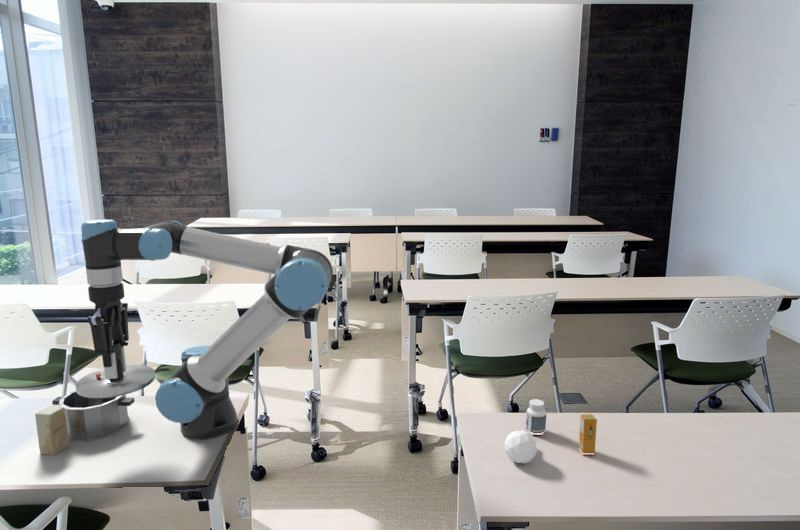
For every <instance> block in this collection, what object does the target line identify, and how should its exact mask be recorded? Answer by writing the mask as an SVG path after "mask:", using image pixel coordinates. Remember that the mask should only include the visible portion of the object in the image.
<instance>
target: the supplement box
mask: <svg viewBox="0 0 800 530" xmlns="http://www.w3.org/2000/svg"><path fill="white" fill-rule="evenodd" d="M579 421H580V422H579V436H578V437H579V439H578V442H579V443H578V448H579V447H580V449H581V451H582V452H583V453H595V454H596V440H597V439H596V438H597V423H598V420H597V418H596V417H595V416H594V415H593V414H591V413H590V414H589V413H588V414H586V413H585V414H583V413H582V414H580V420H579Z"/></svg>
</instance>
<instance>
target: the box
mask: <svg viewBox="0 0 800 530" xmlns="http://www.w3.org/2000/svg"><path fill="white" fill-rule="evenodd" d="M34 415H35V425H36V431H37V439H38V447H39V453H40V454H42V455H44V454H45V455H50V456H51V455H52V456H53V455H56V454H57V453H59V452H61V451H62V450H64V449H66V448H67V447H68V446H69V445H70V443H69V439H68V435H67V426H66V418H65V409H64V407H61V406H59V405H49V406H47V407H46V408H43V409H41V410H39V411H38V412H36V413H34Z"/></svg>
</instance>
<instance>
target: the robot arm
mask: <svg viewBox="0 0 800 530" xmlns="http://www.w3.org/2000/svg"><path fill="white" fill-rule="evenodd" d="M80 229H81V240H80V241H81V242H82V248H83V250H82V251H83V256H84V263H85V273H86V281H87V284H88V285H89V286H88V288H87V289H88V290H87V292H88V299H89V301H90V302H91V303H93V304H94V305H95V306H94V314H93V316H88V317H87V321H88V324H89V326H90V330H91V331H90V332H91V337H92V341H93V343H92V344H93V348H94V353H95V355H99V356H100V355H101V356H102V357H101V358H102V366H103V369H104V373H105V379H116V378H118V376H117V367H116V358H115V353H112V342H120V346H121V355H122V364H123V372H126V365H127V364H126V353H125V347H127V346H129V337H130V336H129V321H128V307H129V305H128V302H122V300H123V299H124V298H125V290H124V289H125V288H124V283H123V280H124V277H123V272H122V271H123V270H122V261H150V262H151V261H152V262H153V261H161V260H167V259H168V258H169V257H170V256H171V255H170V254H172V253H173V254H178V255H181V256H182V255H184V256H187V257H191V258H192V257H193V258H196V259H200V260H204V261H205V260H206V261H210V262H215V263H220V264H222V265H223V264H225V265H228V266H233V267H238V268H241V269H247V270H251V271H255V272H259V273H264V274H269V275H273V277H271V278H270V279H269V280H268V281H267V282H266V283H265V284H264V294H263V295H261V297H260V298H259V299H258V300H257V301H256V302H254V304H252V306H250V307H249V308H248V309H247V310H246V311H245V312H244V313H243V314H242V315H240V317H239V318H238V319H237V320H236V321H235V322H234V323H233V324H231V326H229V328H228V329H226V331H224V333H222V334H221V335H220V336H219V337H218V338H217V339H216V340H215V341H214V342H213V343H212V344H211V345H199V346H193V347H189V348H186V349H184V350H183V351H182V352H181V357H180V360H181V365H180V366H179V367H178V368H177V369H176V370H175V371H174V372H173V373H172V374H171V375H170V376H169V377H168V378H166V380H165V381H163V382H162V383H161V384H160V385H159V387H158V389H157V390H156V392H155V406H156V408H157V410H158V411H159V413H160V414H161V415H162V416H163V417H164V418H165V419H167V420H168V421H171V422H173V423H177V424H178V423H180V424H179V425H180V432H181V433H182V435H184V436H186V437H187V438H191V439H209V438H215V437H219V436H221V435H224V434H227V433H229V432H230V431H231V430H233V429H234V428H235V427H236V426H237V423H238V413H237V411H236V408H235V406H234V404H233V401H232V400H231V398H230V391H229V390H230V388H229V376H231V375H232V374H233V372H235V371H236V370H237V369H238V368H239V367H240V366H242V364H243V363H244V362H245V361H247V359H249V358H250V357H251V355H253V354H254V353H255V352H256V351H257V350H258V349H259V348H260V347H261V346H262V345H264V344H265V342H267V340H269V339H270V338H271V337H272V336H273V335H274V334H275V333H276V332H277V331H278V330H279V329H280V328H281V327H282V326H283V325H284V324H285V323H286V322H287V321H289V320H291V319H293V320H298V319H300V318H301V317H302V316H303V315H304V314H305V313H306V312H308V310H310V309H311V308H313V307H315V306H317V305H318V304H319V303H320V302H321V301H322V300H323V299H324V297H325V295H326V293H327V291H328V288H329V285H330V284H331V283H332V279H333V275H334V274H333V265H332V262H331V260H329V258H328V257H327V256H326V254H324V253H322V252H321V251H319V250H316V249H312V248H307V247H299V246H294V245H289V244H286V245H284V246H283V247H281V246H277V245H272V244H268V243H264V242H259V241H254V240H250V239H246V238H245V239H244V238H240V237H235V236H230V235H227V234H222V233H218V232H214V231H213V232H212V231H208V230H204V229H200V228H195V227H190V226H185V225H183V224H182V223H181V222H179V221H177V220H164V221H163V220H162V221H160V222H159V223H156V224H152V225H148V226H145V227H142V228H140V227H139V228H120V227H118V224H117V221H116V220H115V219H107V218H105V219H92V220H86V221H83V222H82V224H81V227H80Z"/></svg>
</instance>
